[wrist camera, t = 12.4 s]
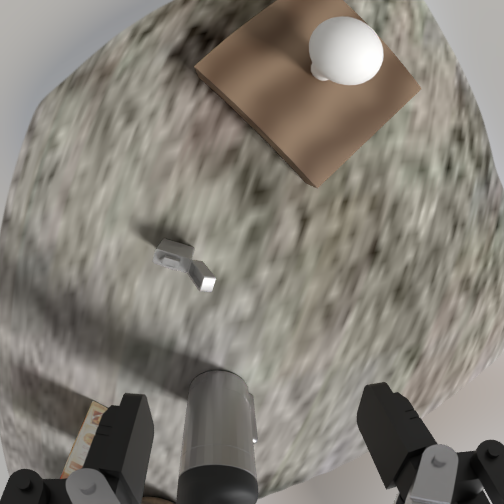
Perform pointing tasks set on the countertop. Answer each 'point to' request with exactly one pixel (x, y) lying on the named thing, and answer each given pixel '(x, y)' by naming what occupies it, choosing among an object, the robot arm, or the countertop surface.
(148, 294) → the countertop surface
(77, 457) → the coffeecake box
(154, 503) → the clay pot
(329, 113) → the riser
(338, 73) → the lightbulb
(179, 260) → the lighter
